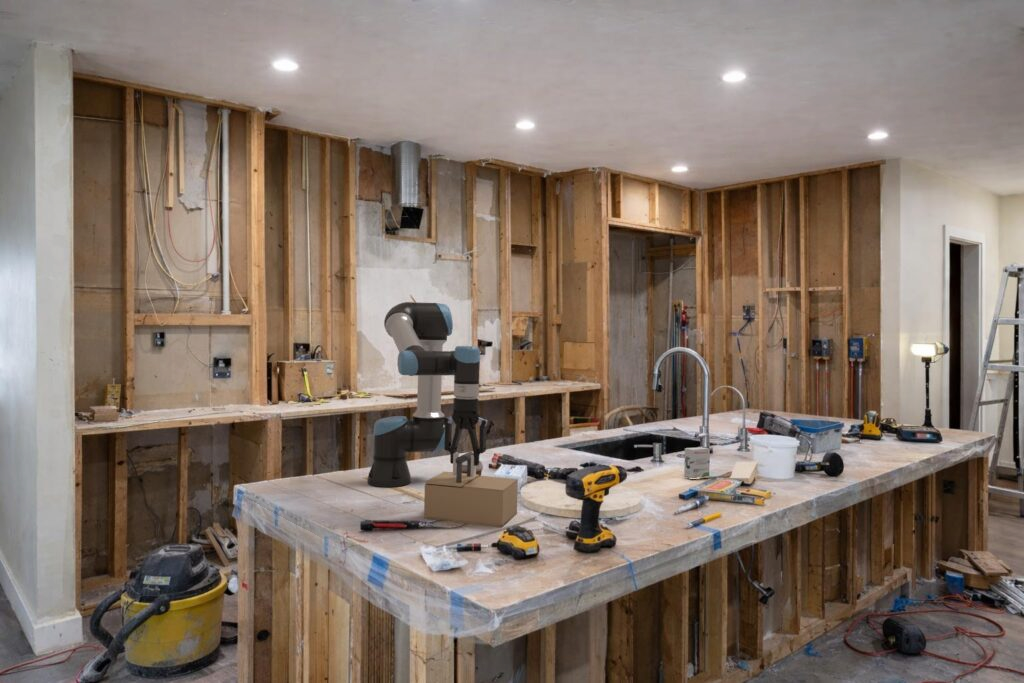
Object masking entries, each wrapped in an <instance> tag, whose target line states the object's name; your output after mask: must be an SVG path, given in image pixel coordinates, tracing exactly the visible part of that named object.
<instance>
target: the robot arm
mask: <svg viewBox="0 0 1024 683" xmlns="http://www.w3.org/2000/svg"><path fill="white" fill-rule="evenodd" d="M383 324H384V329H385V331H386V333H387V335H388V336H390V337H391V338H392V339H393V342H394V344H395V346H396V349H397V350H398V352H399V353H398V356H397V370H398V373H399V375H401V376H409V377H415V376H417V394H416V397H417V398H416V401H417V402H416V410H415V412H413V414H412V419H408V418H407V416H405V415H395V416H394V415H393V416H388V417H383V418H380V419H378V420H376V421H375V423H374V425H373V426H374V427H373V455H372V456H373V458H372V460H373V461H372V464H371V467H370V470H369V472H368V476H367V483H368V485H370V486H374V487H378V488H380V487H381V488H396V487H403V486H407V485H410V484H411V482H412V481H411V480H412V477H411V472H410V468H409V466H408V462H407V454H408V453H428V452H429V453H434V452H441V451H444V450H445V451H447V452H449V453H450V454H449V455H450V456H449V457H450V458H449V459H450V460H449V461H450V464H452V472H453V475H454V476H455V475H456V474H457V463H456V458H458V457H460V452H458V447H459V443H460V440H461V436H462V432H463V430H464V429H465V430H467V432H468V434H469V439H470V443H471V448H472V452H473V454H472V455H471V477H474V476H476V466H477V465H479V461H480V456H481V455H482V454H484V453H485V452H486V451H487V449H486V448H487V426H488V424H489V420H488V419H487V418H486V419H484V418H483V417H481V416H480V414H479V406H480V405H479V404H480V400H479V398H478V397H479V396H480V366H481V364H480V362H481V356H480V355H481V353H480V348H479V347H478V346H476V345H475V346H473V345H457V346H455V348H454V350H450V351H449V350H447V351H446V350H443V348H444V347H443V345H444V344H446V343H447V341H448V337H449V336H451V335H452V334H453V328H454V325H453V324H454V323H453V316H452V312H451V310H450V308H449V306H448V305H447V304H445V303H439V302H416V301H414V302H413V301H405V302H401V303H398V304H396V305H394V306H392V307H391V308H390V309H389V310H388V312H387V313H386V315H385V317H384V320H383ZM442 376H453V377H454V378H453V379H454V380H453V396H454V398H453V407H452V408H453V409H452V410H453V412H452V415H451V416H446V417H445V413H443V412H442V408H441V406H442V379H443V378H442ZM453 422H454V423H455V429H454V434H452V432H453V431H452V430H453ZM477 423H478V425H479V439H478V435H477V428H476V425H477ZM452 435H453V438H452Z"/></svg>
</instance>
